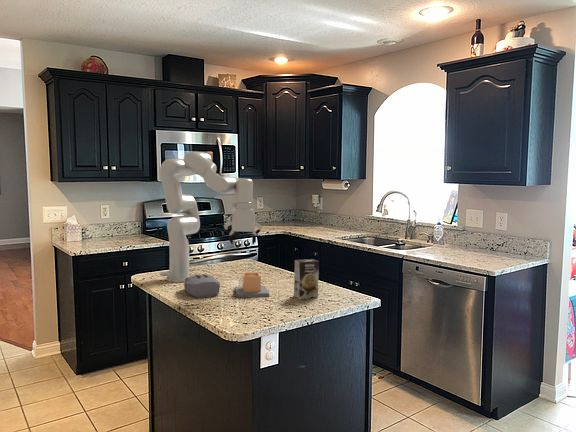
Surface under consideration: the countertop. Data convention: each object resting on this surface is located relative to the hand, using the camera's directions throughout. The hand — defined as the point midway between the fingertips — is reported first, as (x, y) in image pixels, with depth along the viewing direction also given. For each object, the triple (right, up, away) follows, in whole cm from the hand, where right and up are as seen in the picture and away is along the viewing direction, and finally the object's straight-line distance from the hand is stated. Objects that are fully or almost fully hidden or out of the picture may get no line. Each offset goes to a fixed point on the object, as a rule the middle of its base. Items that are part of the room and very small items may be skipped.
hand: (242, 243), depth 215 cm
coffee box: (+28, -23, -7) cm, 37 cm away
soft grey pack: (-19, -22, -2) cm, 29 cm away
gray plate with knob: (+4, -22, -2) cm, 22 cm away
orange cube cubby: (+4, -20, -2) cm, 21 cm away
